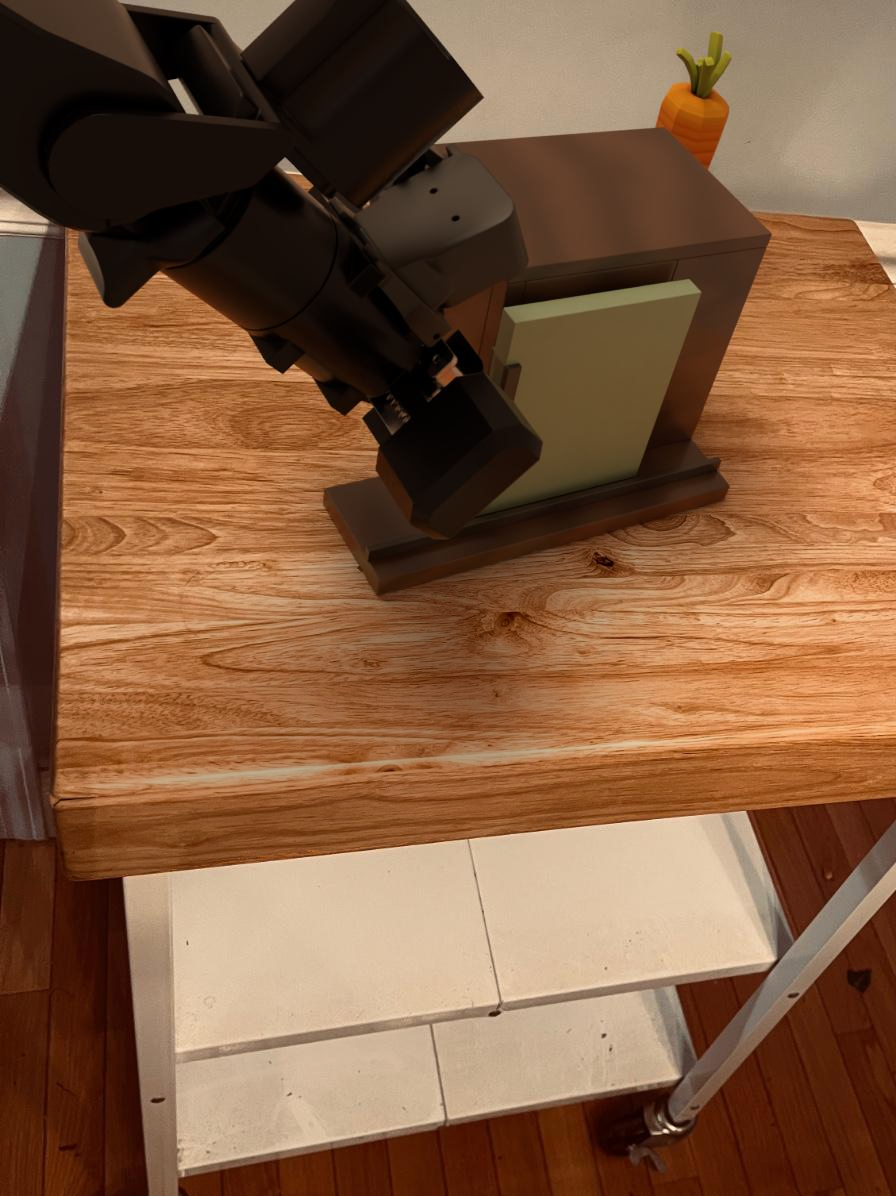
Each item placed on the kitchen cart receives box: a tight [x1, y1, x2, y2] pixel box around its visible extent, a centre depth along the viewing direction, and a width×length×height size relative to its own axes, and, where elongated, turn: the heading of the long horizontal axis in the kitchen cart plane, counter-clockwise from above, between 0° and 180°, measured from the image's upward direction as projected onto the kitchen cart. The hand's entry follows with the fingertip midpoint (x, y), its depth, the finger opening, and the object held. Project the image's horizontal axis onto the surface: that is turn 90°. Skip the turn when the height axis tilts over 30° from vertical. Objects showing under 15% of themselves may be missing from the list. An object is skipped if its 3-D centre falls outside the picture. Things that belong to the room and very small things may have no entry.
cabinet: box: [322, 127, 773, 597], centre depth 64 cm, size 23×15×16 cm, turn 123°
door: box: [476, 279, 701, 517], centre depth 63 cm, size 11×2×13 cm, turn 123°
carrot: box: [654, 30, 733, 171], centre depth 85 cm, size 5×5×15 cm
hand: (479, 424), depth 60 cm, fingers closed, pressing on door
